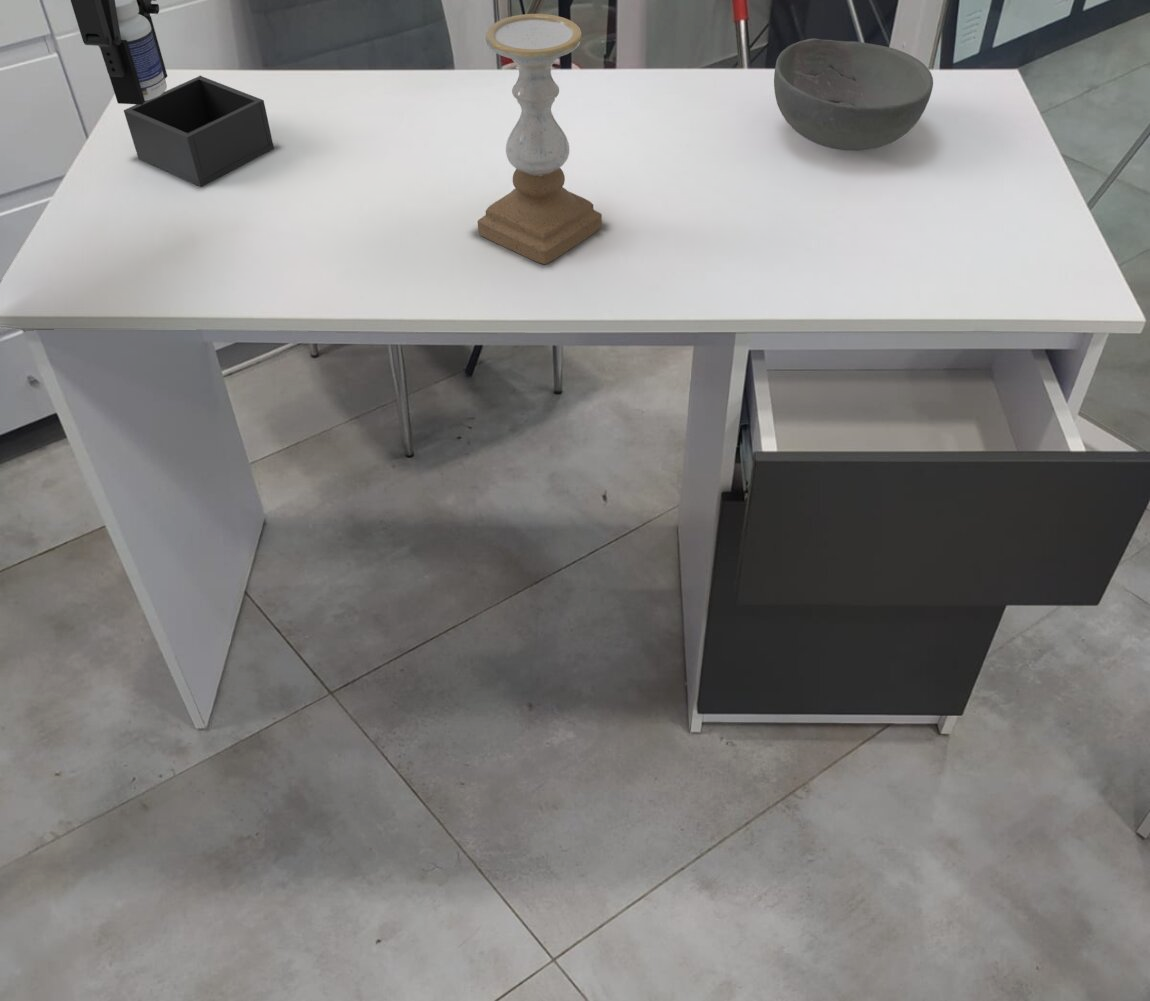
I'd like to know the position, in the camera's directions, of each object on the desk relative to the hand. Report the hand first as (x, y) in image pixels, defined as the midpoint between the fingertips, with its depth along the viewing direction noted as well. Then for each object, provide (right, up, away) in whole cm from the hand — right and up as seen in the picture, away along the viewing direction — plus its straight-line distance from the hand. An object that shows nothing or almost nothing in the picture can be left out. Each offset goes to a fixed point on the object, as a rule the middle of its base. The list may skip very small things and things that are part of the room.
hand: (143, 89), depth 120 cm
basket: (-3, +2, +29) cm, 29 cm away
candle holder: (+42, -12, +15) cm, 46 cm away
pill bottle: (0, 0, 0) cm, 1 cm away
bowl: (+83, +4, +31) cm, 88 cm away
